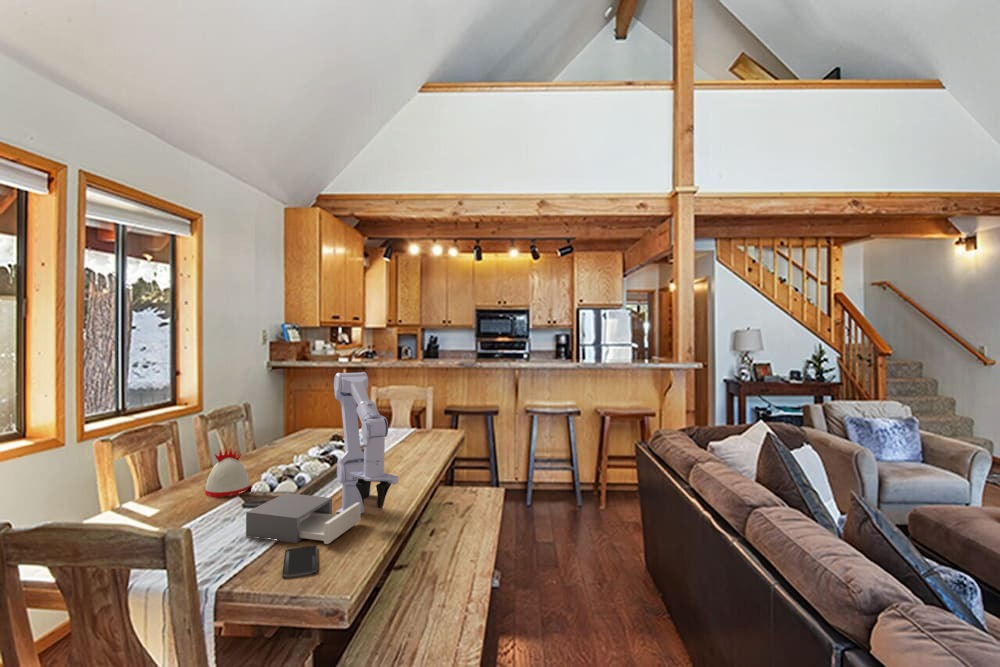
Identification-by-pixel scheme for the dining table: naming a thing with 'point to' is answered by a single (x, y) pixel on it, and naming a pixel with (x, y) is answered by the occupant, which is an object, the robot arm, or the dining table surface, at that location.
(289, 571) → the phone
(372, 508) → the walnut block
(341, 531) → the tray
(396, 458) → the dining table surface
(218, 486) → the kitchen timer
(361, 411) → the robot arm
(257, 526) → the box housing
